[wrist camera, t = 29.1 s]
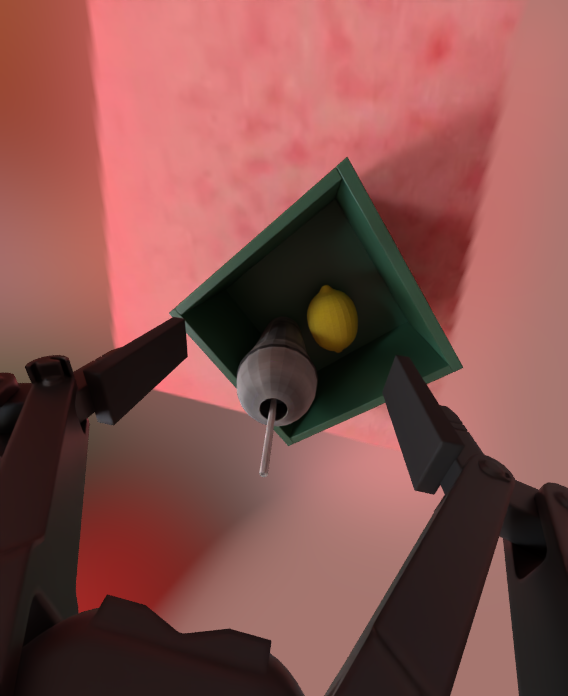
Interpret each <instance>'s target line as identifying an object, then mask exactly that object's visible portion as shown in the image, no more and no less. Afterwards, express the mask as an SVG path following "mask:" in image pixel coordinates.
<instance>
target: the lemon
mask: <svg viewBox="0 0 568 696" xmlns="http://www.w3.org/2000/svg"><path fill="white" fill-rule="evenodd" d="M307 321H308V326H309V329H310V332H311V334H312V336H313V338H314V340H315V341H316V342H317V344H318V345H319V346H321V347H322V348H324V349H326V350H329V351H335V352H337V353H339V352H342V350H343V349H345V348H347V347H348V346H349V345H350V344H351V343H352V342H353V341H354V339H355V337H356V334H357V329H358V316H357V311H356V308H355V305H354V303H353V301H352V300H351V299H350V297H349V296H348V295H346V294H345V293H344V292H342V291H339V290H335V289H333V288H331V287H330V286H329V285H324V286H322V287H321V289H320V291H319V293H318V294H317V295H316V296H315V297H314V298H313V299H312V300H311V302H310V304H309V307H308V311H307Z"/></svg>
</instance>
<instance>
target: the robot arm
mask: <svg viewBox="0 0 568 696" xmlns="http://www.w3.org/2000/svg"><path fill="white" fill-rule="evenodd" d="M187 357H188V354H187V340H186V326H185V319H183V318H177V317H173V318H171V319H169V320H167V321H166V322H164V323H162V324H161V325H159V326H157V327H156V328H154V329H152V330H150V331H149V332H147V333H145V334H144V335H142V336H140V337H139V338H137V339H135V340H133V341H132V342H130V343H128V344H127V345H125V346H123V347H120V348H117V349H114V350H111V351H109V352H107V353H106V354H104V355H102V357H99V358H97V359H96V360H95V361H92V362H90V363H88V364H87V365H85V366H83V367H81V368H80V369H78V370H76V371H74V372H73V371H72V367H71V364H70V361H69V358H68V357H65V356H61V355H55V356H54V355H53V356H46V357H41V358H38V359H35V360H33V361H31V362H29V363H28V364H27V365H26V366H25V368H26V371H27V373H28V376H29V378H30V380H31V383H17V381H16V378H15V376H14V374H11V373H0V696H305V695H304V694H303V692H302V690H301V688H300V687H299V685H298V683H297V682H296V680H295V679H294V678H293V676H292V675H291V673H290V672H289V671H288V669H287V668H286V667H285V666H284V665H283V664H282V663H281V662H280V661H279V660H278V659H277V658H276V657H274V656H273V655H272V654H270V647H271V640H268V639H264V638H261V637H257V636H254V635H250V634H246V633H242V632H239V631H236V630H232V629H222V630H213V631H205V632H195V633H185V634H182V633H179V632H178V631H176V630H175V629H174V628H173V627H171V626H170V625H169V624H168V623H166V622H165V621H164V620H163V619H162V618H160V617H159V616H158V615H157V614H156V613H154V612H153V611H152V610H151V609H150V608H148V607H147V606H146V605H143V604H139V603H136V602H132V601H129V600H125V599H121V598H118V597H114V596H110V595H107V596H106V597H105V599H104V601H103V602H102V604H101V606H100V607H99V608H96V609H92V610H88V611H84V612H81V613H78V603H77V597H76V576H77V564H78V553H79V552H78V551H79V540H80V530H81V517H82V507H83V494H84V484H85V472H86V460H87V449H88V437H89V426H90V424H89V420H88V417H89V416H90V415H92V414H93V413H94V412H95V414H96V417H97V420H98V422H100V423H105V424H109V425H115V424H116V423H117V422H118V421H119V420H120V419H121V418H122V417H123V416H124V415H125V414H127V413H128V412H129V411H130V410H131V409H132V408H133V407H134V406H135V405H136V404H137V403H138V402H139V401H140V400H142V399H143V398H144V396H146V395H147V394H148V393H149V392H150V391H151V390H152V389H153V388H154V387H155V386H157V385H158V384H159V383H160V382H161V381H162V380H163V379H164V378H165V377H166V376H167V375H168V374H169V373H171V372H172V371H173V370H174V369H175V368H176V367H177V366H178V365H179V364H180V363H181V362H182V361H183V360H184V359H186V358H187ZM382 393H383V396H384V399H385V402H386V405H387V409H388V412H389V415H390V418H391V421H392V424H393V427H394V430H395V433H396V436H397V439H398V442H399V445H400V448H401V451H402V453H403V457H404V460H405V463H406V466H407V469H408V472H409V475H410V478H411V481H412V484H413V487H414V490H415V491H420V492H425V493H429V494H435V493H436V491H437V489H438V488H439V486H440V485H441V487H442V489H443V491H444V494H445V496H444V497H443V499H442V500H441V502H440V503H439V505H438V506H437V508H436V509H435V511H434V514H433V515H432V517H431V519H430V520H429V522H428V524H427V525H426V527H425V529H424V530H423V532H422V534H421V535H420V537H419V539H418V540H417V542H416V544H415V546H414V547H413V549H412V551H411V552H410V554H409V556H408V557H407V559H406V561H405V562H404V564H403V566H402V567H401V569H400V571H399V573H398V574H397V576H396V577H395V579H394V581H393V582H392V584H391V586H390V588H389V589H388V591H387V593H386V594H385V596H384V598H383V600H382V601H381V603H380V605H379V606H378V608H377V609H376V611H375V613H374V615H373V616H372V618H371V620H370V621H369V623H368V625H367V626H366V628H365V630H364V631H363V633H362V635H361V636H360V638H359V640H358V641H357V643H356V645H355V646H354V648H353V650H352V652H351V653H350V655H349V657H348V658H347V660H346V662H345V663H344V665H343V667H342V668H341V670H340V671H339V673H338V675H337V676H336V677H335V679H334V681H333V682H332V684H331V685H330V687H329V689H328V690H327V692H326V694H325V695H324V696H450V694H451V691H452V688H453V684H454V681H455V678H456V674H457V671H458V668H459V665H460V662H461V658H462V655H463V651H464V649H465V645H466V642H467V639H468V635H469V632H470V629H471V626H472V623H473V619H474V616H475V613H476V610H477V606H478V603H479V600H480V597H481V593H482V590H483V587H484V584H485V580H486V577H487V574H488V571H489V567H490V564H491V561H492V558H493V554H494V551H495V548H496V545H497V541H498V538H499V536H500V537H502V538H503V543H504V551H505V562H506V572H507V582H508V592H509V601H510V612H511V621H512V631H513V640H514V650H515V660H516V670H517V679H518V690H519V696H568V488H566V487H564V486H561V485H559V484H556V483H546V484H544V485H543V486H542V487H541V488H540V489H539V490H538V489H536V488H533V487H531V486H528V485H526V484H524V483H521V482H519V481H517V480H515V478H514V477H513V475H512V473H511V472H510V471H509V470H508V469H507V468H506V467H505V466H504V465H502V464H501V463H500V462H498V461H497V460H495V459H493V458H491V457H489V456H486V455H484V454H483V452H482V451H481V449H480V448H479V447H478V445H477V443H476V442H475V441H474V439H473V438H472V436H471V435H470V433H469V432H467V429H466V428H465V426H464V425H462V422H461V421H460V419H459V417H458V416H457V415H456V414H455V413H454V412H453V411H452V410H451V409H449V408H448V407H446V406H441V405H439V404H438V402H437V400H436V399H435V397H434V396H433V394H432V392H431V391H430V389H429V388H428V386H427V385H426V383H425V381H424V380H423V378H422V377H421V375H420V373H419V372H418V370H417V369H416V367H415V365H414V364H413V362H412V361H411V359H410V357H406V356H400V355H396V356H395V359H394V361H393V364H392V367H391V370H390V372H389V375H388V378H387V380H386V383H385V386H384V389H383V391H382Z"/></svg>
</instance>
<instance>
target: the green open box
mask: <svg viewBox="0 0 568 696" xmlns="http://www.w3.org/2000/svg"><path fill="white" fill-rule="evenodd" d="M324 285H329V286H330V287H331V288H333V289H335V290H339V291H342V292H344V293H345V294H346V295H348V296H349V297H350V299H351V300H352V301H353V303H354V305H355V308H356V311H357V316H358V329H357V334H356V337H355V339H354V341H353V342H352V343H351V344H350V345H349V346H348V347H347V348H345V349H343V350H342V352H339V353H337V352H335V351H329V350H326V349H324V348H322V347H321V346H319V345H318V344H317V342H316V341H315V340H314V338H313V336H312V334H311V332H310V329H309V326H308V321H307V311H308V307H309V304H310V302H311V300H312V299H313V298H314V297H315V296H316V295H317V294H318V293H319V291H320V289H321V287H322V286H324ZM169 314H170V315H171V316H172V317H177V318H183V319H185V326H186V333H187V334H188V335H189V336H190V337H191V338H192V340H193V341H194V342H195V343H196V344H197V345H198V346H199V347H200V348H201V350H202V351H203V352H204V353H205V354H206V355H207V356H208V357H209V358H210V360H211V361H212V362H213V363H214V364H215V365H216V366H217V367H218V368H219V370H220V371H221V372H222V373H223V374H224V375H225V376H226V377H227V378H228V380H229V381H230V382H231V383H232V384H233V385H234V386H235V387H236V388H237V371H238V368H239V365H240V362H241V361H242V360H243V358H244V357H245V356H246V355H247V354H248V353H249V352H250V351H251V350H252V349H253V348H254V346H255V345H256V343H257V341H258V340H259V338H260V336H261V335H262V333H263V331H264V329H265V328H266V327H267V325H268V324H269V323H270V322H271V321H272V320H273V319H275V318H277V317H288V318H291V319H293V320H294V321H295V322H296V323H297V324H298V326H299V328H300V330H301V333H302V337H303V340H304V344H305V348H306V351H307V355H308V356H309V358H310V359H311V361H312V363H313V364H314V365H315V367H316V371H317V375H318V383H317V390H316V394H315V398H314V400H313V402H312V404H311V406H310V408H309V409H308V411H307V412H306V413H305V414H304V415H303V416H302V417H301V418H299V419H298V420H297V421H294V422H292V423H290V424H288V425H283V426H274V431H275V432H276V433H277V434H278V435H279V436H280V437H281V438H282V439H283V441H284V442H285V443H286V444H287V445H288V446H290V445H292V444H294V443H296V442H299V441H301V440H303V439H305V438H308V437H310V436H312V435H314V434H316V433H319V432H321V431H323V430H325V429H328V428H330V427H332V426H334V425H337V424H339V423H341V422H343V421H346V420H348V419H350V418H352V417H354V416H357V415H359V414H361V413H363V412H366V411H368V410H370V409H372V408H375V407H377V406H379V405H381V404H383V403H386V402H385V399H384V396H383V393H382V391H383V389H384V386H385V383H386V380H387V378H388V375H389V372H390V370H391V367H392V364H393V361H394V359H395V356H396V355H400V356H406V357H410V359H411V361H412V362H413V364H414V365H415V367H416V369H417V370H418V372H419V373H420V375H421V377H422V378H423V380H424V381H425V383H426V384H428V383H430V382H433V381H435V380H437V379H439V378H442V377H444V376H446V375H448V374H450V373H453V372H455V371H457V370H459V369H461V368H463V366H462V364H461V362H460V361H459V359H458V357H457V355H456V353H455V352H454V350H453V348H452V346H451V344H450V342H449V341H448V339H447V337H446V335H445V333H444V332H443V330H442V328H441V326H440V324H439V322H438V321H437V319H436V317H435V315H434V313H433V312H432V310H431V308H430V306H429V304H428V302H427V301H426V299H425V297H424V295H423V293H422V292H421V290H420V288H419V286H418V284H417V282H416V281H415V279H414V277H413V275H412V273H411V272H410V270H409V268H408V266H407V264H406V262H405V261H404V259H403V257H402V255H401V253H400V252H399V250H398V248H397V246H396V244H395V243H394V241H393V239H392V237H391V235H390V233H389V232H388V230H387V228H386V226H385V224H384V223H383V221H382V219H381V217H380V215H379V213H378V212H377V210H376V208H375V206H374V204H373V203H372V201H371V199H370V197H369V195H368V193H367V192H366V190H365V188H364V186H363V184H362V183H361V181H360V179H359V177H358V175H357V173H356V172H355V170H354V168H353V166H352V164H351V163H350V161H349V159H348V157H346V158H345V159H344V160H343V161H342V162H341V163H340V164H338V165H337V166H336V168H334V169H333V170H332V171H331V172H329V173H328V174H327V175H326V176H325V177H324V178H323V179H321V180H320V181H319V182H318V183H317V184H316V185H315V186H313V187H312V188H311V189H310V190H309V191H308V192H307V193H305V194H304V195H303V196H302V197H301V198H300V199H299V200H297V201H296V202H295V203H294V204H293V205H292V206H291V207H289V208H288V209H287V210H286V211H285V212H284V213H283V214H281V215H280V216H279V217H278V218H277V219H276V220H275V221H273V222H272V223H271V224H270V225H269V226H268V227H267V228H265V229H264V230H263V231H262V232H261V233H260V234H259V235H257V236H256V237H255V238H254V239H253V240H252V241H251V242H249V243H248V244H247V245H246V246H245V247H244V248H243V249H241V250H240V251H239V252H238V253H237V254H236V255H235V256H233V257H232V258H231V259H230V260H229V261H228V262H227V263H225V264H224V265H223V266H222V267H221V268H220V269H219V270H218V271H216V272H215V273H214V274H213V275H212V276H211V277H210V278H208V279H207V280H206V281H205V282H204V283H203V284H202V285H200V286H199V287H198V288H197V289H196V290H195V291H194V292H192V293H191V294H190V295H189V296H188V297H187V298H186V299H184V300H183V301H182V302H181V303H180V304H179V305H178V306H176V307H175V308H174V309H173V310H172V311H171V312H169Z"/></svg>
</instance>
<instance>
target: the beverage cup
mask: <svg viewBox="0 0 568 696" xmlns="http://www.w3.org/2000/svg"><path fill="white" fill-rule="evenodd" d="M317 383H318V375H317V371H316V367H315V365H314V364H313V363H312V361H311V359H310V358H309V356H308V355H307V351H306V348H305V344H304V340H303V337H302V333H301V330H300V328H299V326H298V324H297V323H296V322H295V321H294V320H293V319H291V318H288V317H277V318H275V319H273V320H272V321H271V322H270V323H269V324H268V325H267V327H266V328H265V329H264V331H263V333H262V335H261V336H260V338H259V340H258V341H257V343H256V345H255V346H254V348H253V349H252V350H251V351H250V352H249V353H248V354H247V355H246V356H245V357H244V358H243V360H242V361H241V362H240V365H239V368H238V371H237V395H238V398H239V400H240V403H241V405H242V407H243V409H244V410H245V411H246V412H247V413H248V415H249V416H250V417H252V418H253V419H255V420H256V421H258V422H259V423H262V424H265V425H267V428H266V435H265V441H264V447H263V454H262V460H261V467H260V473H259V474H260V476H262V477H266V476H267V475H268V468H269V461H270V453H271V446H272V438H273V430H274V426H283V425H288V424H290V423H292V422H294V421H297V420H298V419H299V418H301V417H302V416H303V415H304V414H305V413H306V412H307V411H308V409H309V408H310V406H311V404H312V402H313V400H314V398H315V394H316V390H317Z"/></svg>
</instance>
